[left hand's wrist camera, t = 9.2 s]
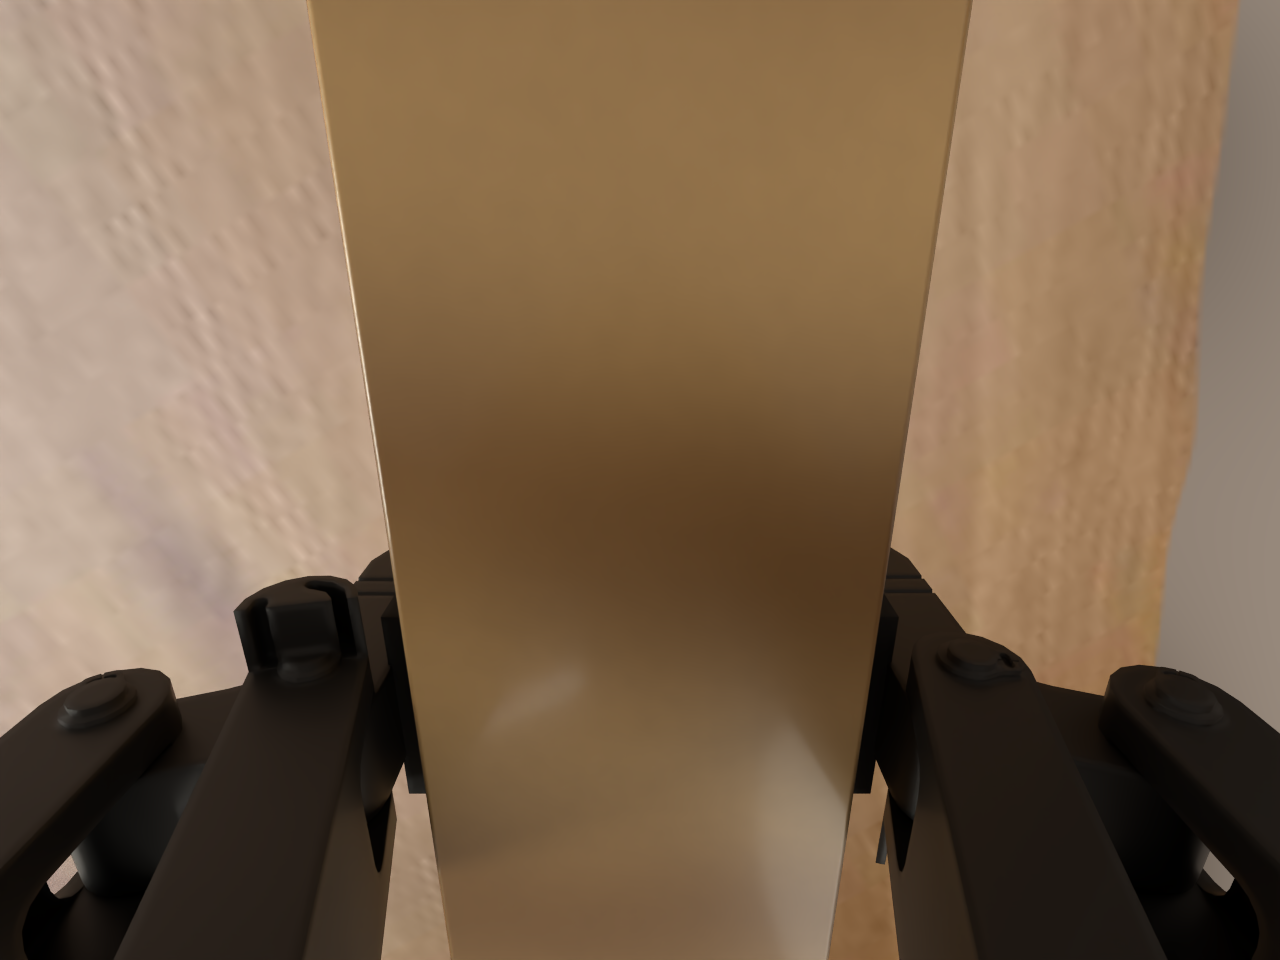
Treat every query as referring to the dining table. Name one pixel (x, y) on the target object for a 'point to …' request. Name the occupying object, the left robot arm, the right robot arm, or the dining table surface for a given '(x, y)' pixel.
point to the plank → (639, 435)
